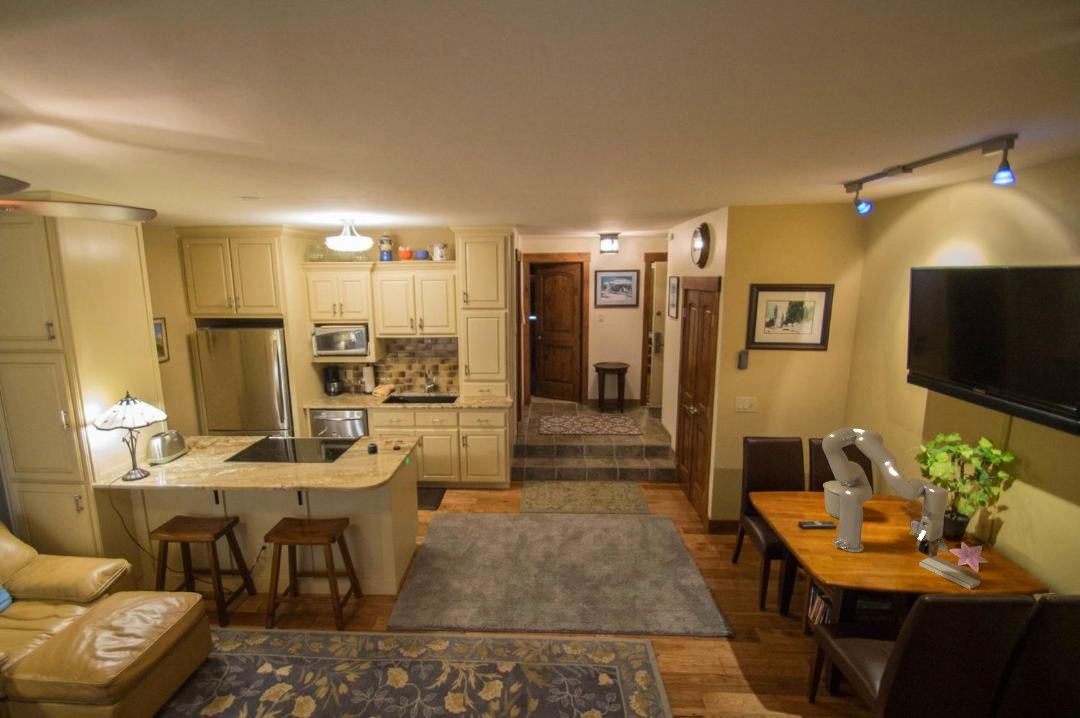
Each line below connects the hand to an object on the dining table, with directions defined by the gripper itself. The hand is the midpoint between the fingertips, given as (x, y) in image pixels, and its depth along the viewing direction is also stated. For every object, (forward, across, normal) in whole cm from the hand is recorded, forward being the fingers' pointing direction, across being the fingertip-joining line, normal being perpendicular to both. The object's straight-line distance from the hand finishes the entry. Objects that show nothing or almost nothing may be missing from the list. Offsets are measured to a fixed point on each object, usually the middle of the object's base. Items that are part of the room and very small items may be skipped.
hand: (926, 550), depth 204 cm
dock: (+13, +12, -4) cm, 18 cm away
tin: (+14, +37, +18) cm, 44 cm away
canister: (+15, +21, +52) cm, 58 cm away
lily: (+13, +28, -4) cm, 32 cm away
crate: (+1, 0, 0) cm, 1 cm away
